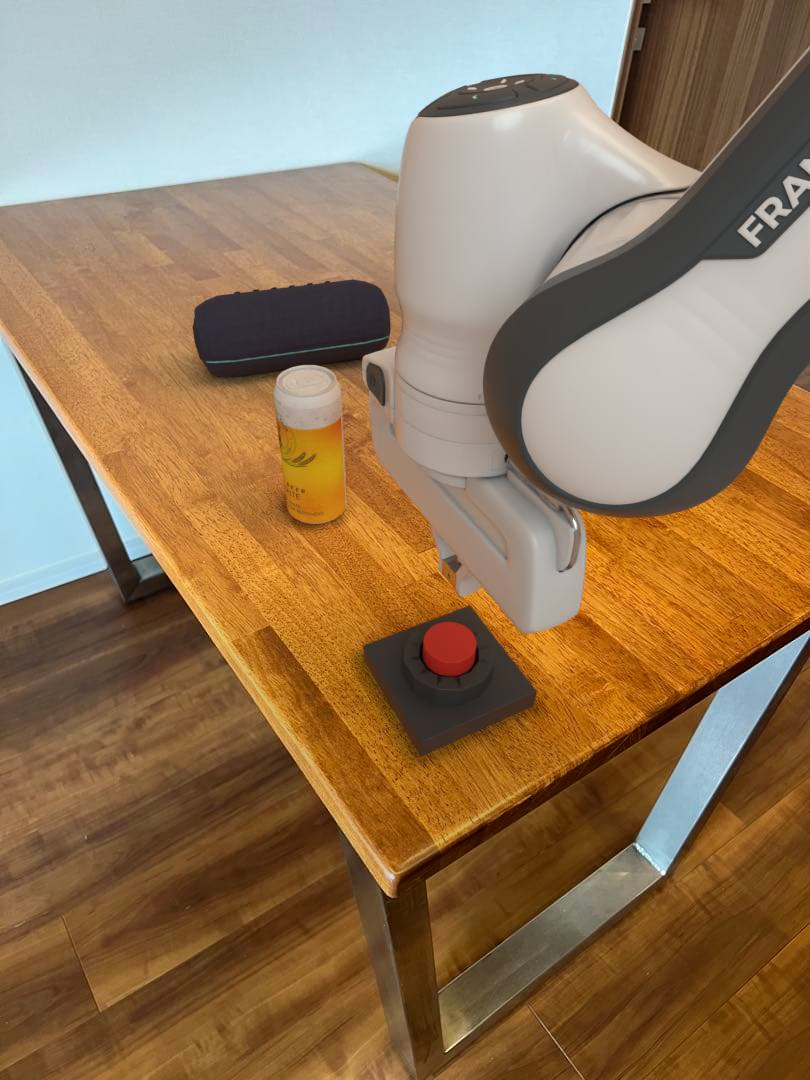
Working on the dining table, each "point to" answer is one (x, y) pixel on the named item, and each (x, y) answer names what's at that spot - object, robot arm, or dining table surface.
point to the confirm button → (449, 649)
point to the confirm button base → (447, 684)
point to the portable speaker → (290, 327)
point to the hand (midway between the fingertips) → (459, 581)
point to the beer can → (311, 442)
